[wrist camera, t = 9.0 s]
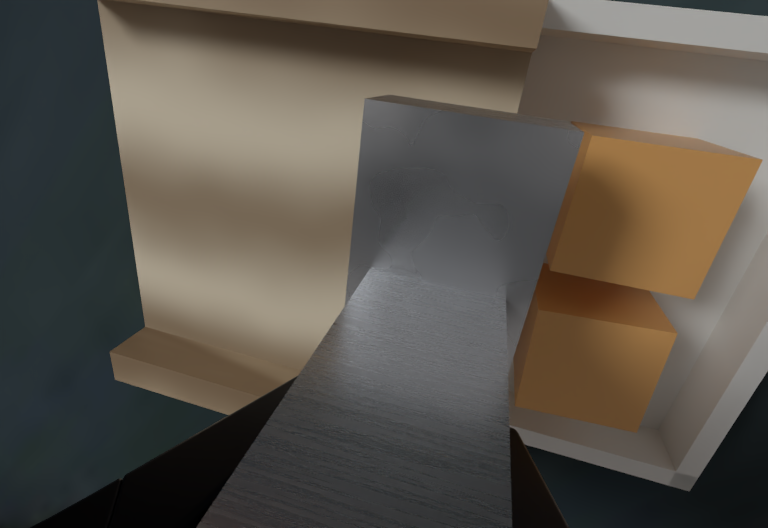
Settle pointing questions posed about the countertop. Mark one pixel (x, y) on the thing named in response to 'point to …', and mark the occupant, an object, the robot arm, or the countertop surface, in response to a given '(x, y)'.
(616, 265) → the tan cardboard cube
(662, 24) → the chip tray
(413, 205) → the scraper
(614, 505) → the countertop surface
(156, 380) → the slot block
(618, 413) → the matte ochre cube
